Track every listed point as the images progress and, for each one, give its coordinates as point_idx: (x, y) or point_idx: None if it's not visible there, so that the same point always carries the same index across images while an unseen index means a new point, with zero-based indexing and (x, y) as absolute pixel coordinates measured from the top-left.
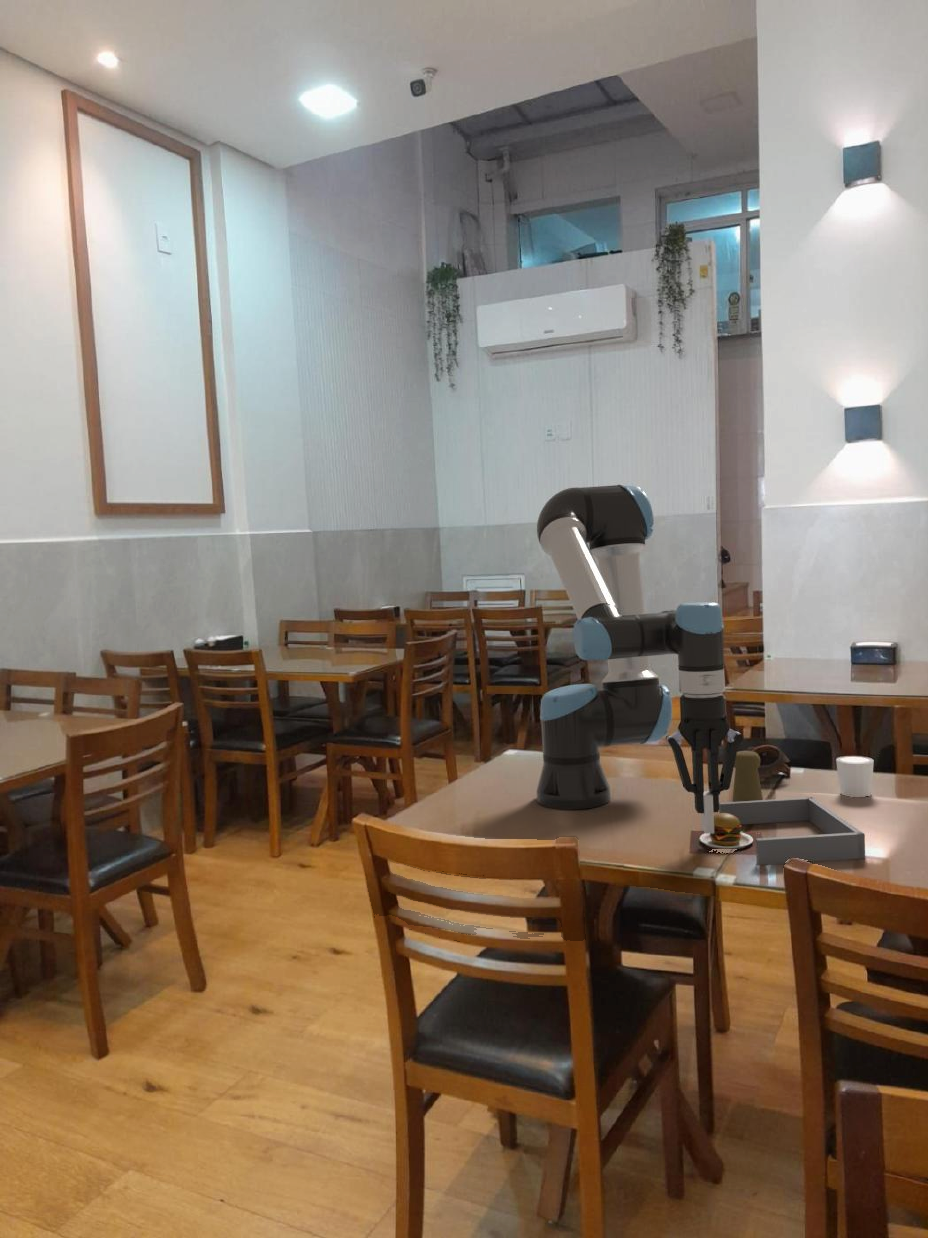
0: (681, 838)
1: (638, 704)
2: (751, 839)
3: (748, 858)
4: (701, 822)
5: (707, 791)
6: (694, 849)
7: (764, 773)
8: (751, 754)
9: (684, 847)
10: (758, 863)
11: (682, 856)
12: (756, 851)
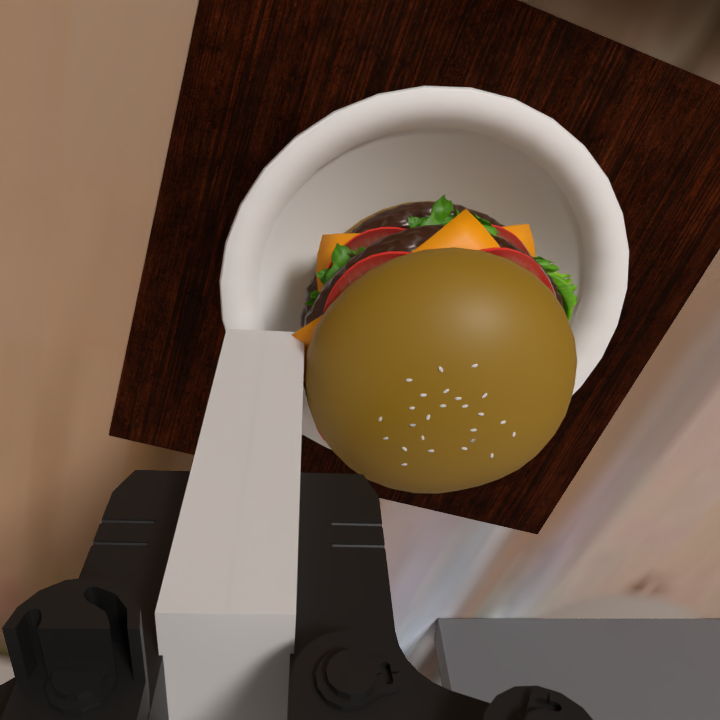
0: (90, 104)
1: None
2: (594, 348)
3: (429, 559)
4: (219, 361)
5: (274, 618)
6: (153, 386)
7: None
8: None
9: (88, 326)
10: (436, 642)
11: (54, 476)
12: (447, 677)
